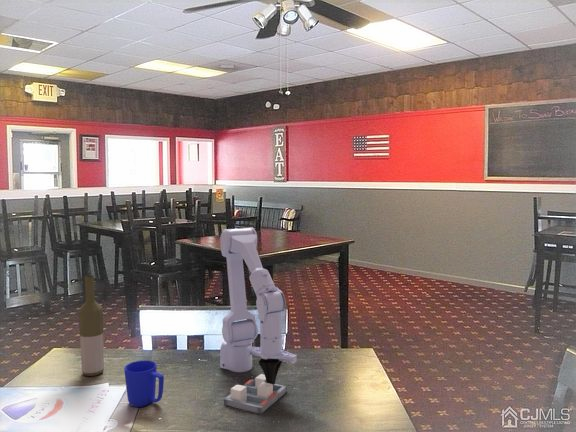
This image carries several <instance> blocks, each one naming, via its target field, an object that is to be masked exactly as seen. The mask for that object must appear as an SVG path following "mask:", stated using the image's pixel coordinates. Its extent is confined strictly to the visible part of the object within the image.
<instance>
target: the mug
mask: <svg viewBox="0 0 576 432" xmlns="http://www.w3.org/2000/svg"><path fill="white" fill-rule="evenodd" d="M157 366H158V365H157V363H156V362H154V361H152V360H145V359H144V360H137V361H132V362H130V363H128V364H126V365H125V366H124V367H123V370H124V378H125V380H124V381H125V386H126V395H127V401H128V403H129V405H130V406H133V407H135V408H142V407H147V406H149V405H151V404H152V403H157V402H159V401H161V400H162V398H163V393H164V381H165V376H164V374H162V373H160V372H157ZM157 378H158V391H157V392H158V395H157V398H156V386H157V383H156V382H157Z"/></svg>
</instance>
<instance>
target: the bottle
mask: <svg viewBox="0 0 576 432" xmlns="http://www.w3.org/2000/svg"><path fill="white" fill-rule="evenodd" d="M84 285H85V286H84V287H85V289H84V290H85V291H84V292H85V301H84V303H83V304H82V305H81V307H80V308H79V309H78V324H79V325H78V328H79V342H80V343H79V345H80V358H81V360H80V361H81V373H82V375H83V376H89V377H93V376H97V375H101V374H102V373H104V370H105V363H104V362H105V360H104V358H105V357H104V348H105V347H104V309H103V306H102V305H100V303H99V302H98V301H96V299H95V298H96V297H95V296H96V295H95V275H93V274H92V275H91V274H90V275H89V274H88V275H85V276H84Z"/></svg>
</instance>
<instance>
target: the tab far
mask: <svg viewBox="0 0 576 432" xmlns="http://www.w3.org/2000/svg"><path fill="white" fill-rule="evenodd" d="M254 379H255V387H256V388H257V386H258V385H260V384H261V383H262V382H265V383H267V381H266V377H265V374H264V373H260V374H258V375H257V376H256V377H255V378H254Z"/></svg>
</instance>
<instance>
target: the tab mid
mask: <svg viewBox="0 0 576 432" xmlns="http://www.w3.org/2000/svg"><path fill="white" fill-rule="evenodd" d="M272 394H273V384H270V383H265V382H262V383H261V384H260V385H258V386H257V396H258V397H262V398H266V399H268V398H269V396H271V395H272Z"/></svg>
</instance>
